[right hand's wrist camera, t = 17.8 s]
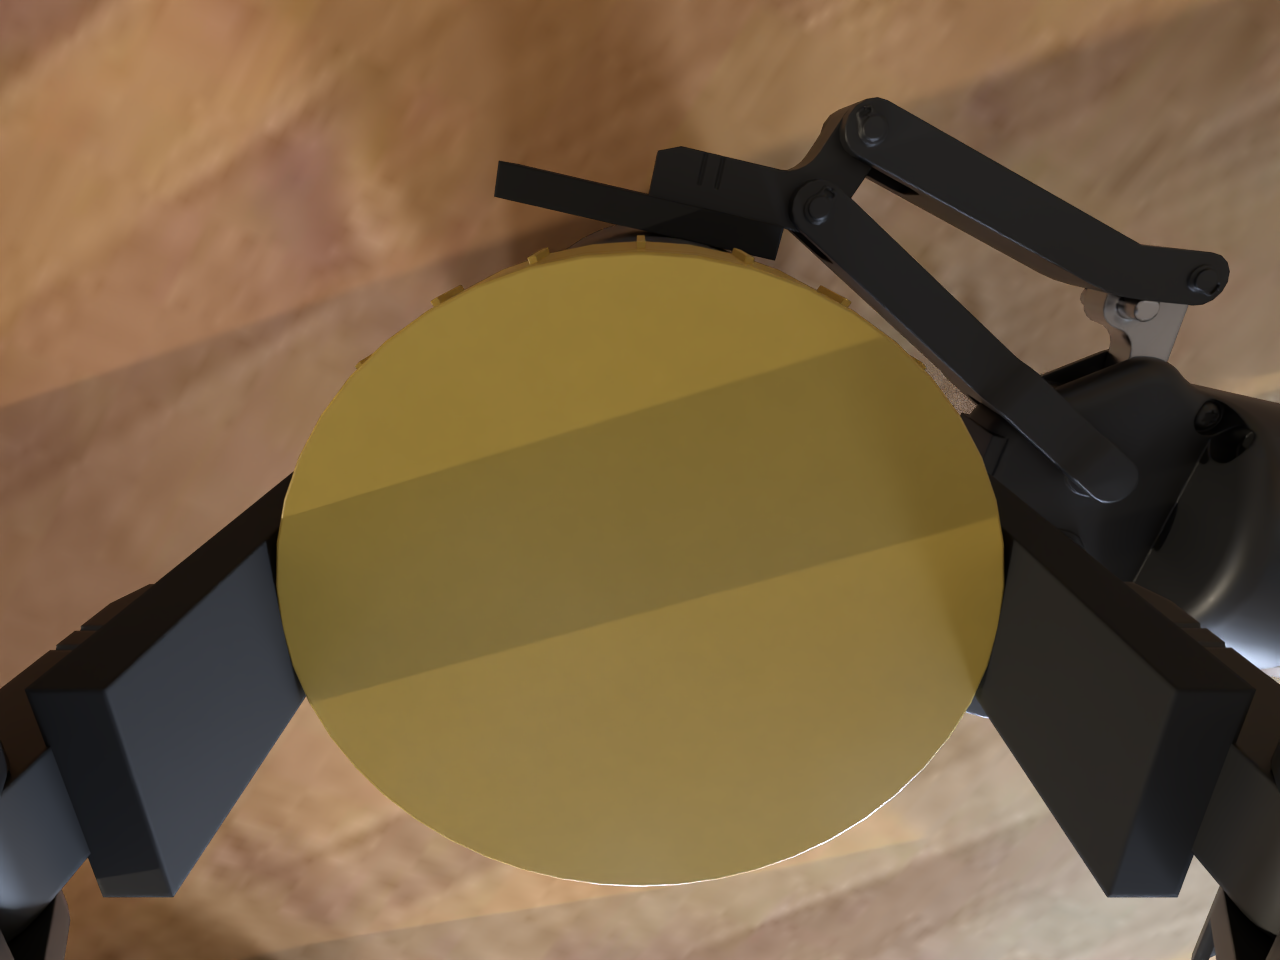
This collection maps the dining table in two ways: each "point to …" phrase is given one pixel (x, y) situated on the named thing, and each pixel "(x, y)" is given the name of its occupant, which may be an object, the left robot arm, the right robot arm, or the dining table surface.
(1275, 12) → the dining table surface
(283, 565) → the lid
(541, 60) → the dining table surface
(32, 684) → the right robot arm
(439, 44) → the dining table surface
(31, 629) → the dining table surface
